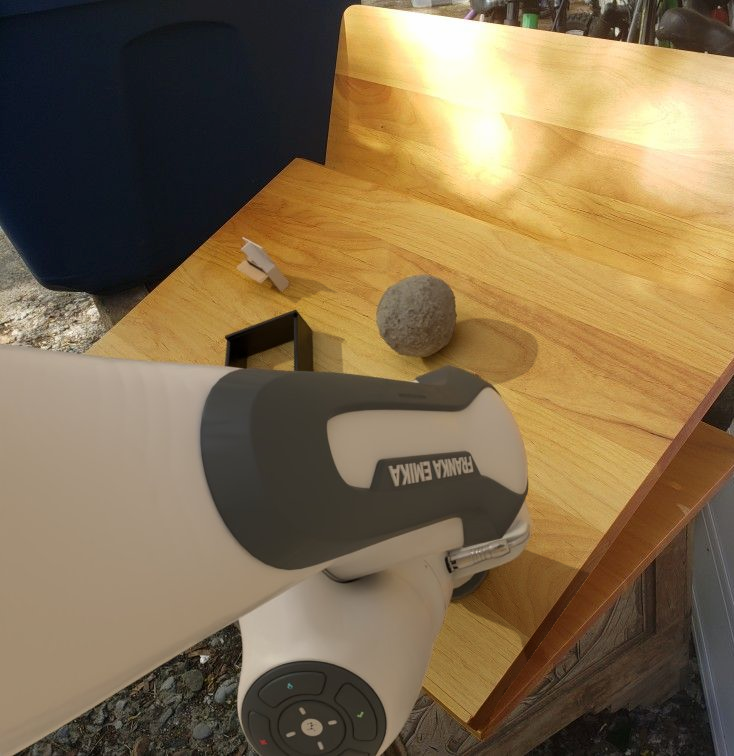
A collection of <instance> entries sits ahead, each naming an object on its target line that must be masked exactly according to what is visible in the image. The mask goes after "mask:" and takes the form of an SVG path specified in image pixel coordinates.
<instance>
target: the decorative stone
mask: <svg viewBox="0 0 734 756" xmlns="http://www.w3.org/2000/svg"><path fill="white" fill-rule="evenodd" d="M456 305H457V304H456V296H455V293H454V291H453V290H452V288H451V286H450V285H449V284H447V283H446V281H444V280H443V279H442V278H439V277H435V276H434V275H431V274H418V275H412V276H408V277H406V278H403V279H401V280H399V281H398V282H396V283H393V284H392V285H391V286H389V287H388V288H387V289H386V290H385V291H384V292H383V294H382V296H381V297H380V299H379V302H378V304H377V309H376V314H375V315H376V321H375V323H376V327H377V328H378V333H379V336H380V337H381V338H382V340H383V341H384V343H385V344H386V345H387V346H389V347H390V349H391V350H393V351H394V352H395V353H397V354H398V355H399V356H405V357H413V358H414V357H415V358H425V357H430V356H431V355H433V354H436V353H437V352H439V351H440V350H442V349H443V348H444V347H446V346H447V345H448V344H449V343H450V341H451V339H452V337H453V334H454V331H455V328H456V323H457V317H458V314H457V312H456V308H457V306H456Z"/></svg>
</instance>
